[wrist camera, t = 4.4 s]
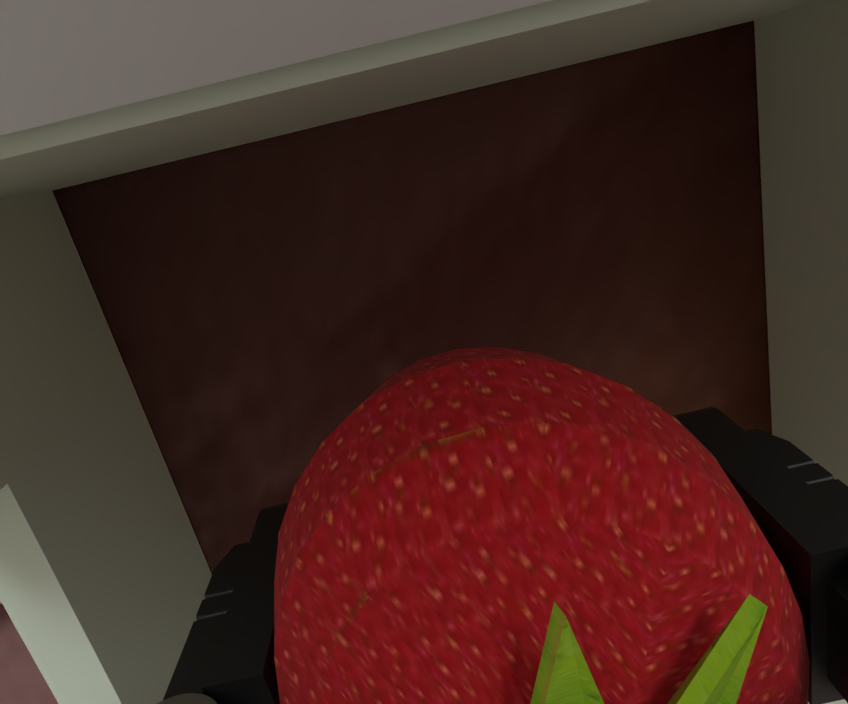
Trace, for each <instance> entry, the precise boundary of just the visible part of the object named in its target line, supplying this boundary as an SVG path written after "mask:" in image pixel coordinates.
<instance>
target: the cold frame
mask: <svg viewBox="0 0 848 704" xmlns="http://www.w3.org/2000/svg"><path fill="white" fill-rule="evenodd" d="M750 21H754V30H755V53H756V76H757V99H758V122H759V145H760V168H761V191H762V214H763V236H764V259H765V282H766V305H767V328H768V351H769V374H770V397H771V420H772V435H774V436H777V437H779V438H782V439H785V440H787V441H789V442H791V443H792V444H793V445H795V446H796V447H797V448H799V449H800V450H801V451H802V452H804V453H805V454H806V455H808V456H809V457H810V458H812V459H813V462H814V464H815V463H818V464H819V465H821V466H822V467H823V468H825V469H826V470H827V471H828V472H830V473H831V474H832V475H833V478H834V479H839V480H840V481H841V482H843V483H844V484H845V485H847V486H848V0H0V601H1V602H2V604H3V606H4V608H5V610H6V611H7V613H8V615H9V617H10V618H11V620H12V622H13V624H14V626H15V627H16V629H17V631H18V633H19V634H20V636H21V638H22V640H23V641H24V643H25V645H26V647H27V649H28V650H29V652H30V654H31V656H32V657H33V659H34V661H35V663H36V664H37V666H38V668H39V670H40V672H41V673H42V675H43V677H44V679H45V680H46V682H47V684H48V686H49V687H50V689H51V691H52V693H53V695H54V696H55V698H56V700H57V702H58V703H59V704H157V703H159V702H161V701H163V698H164V696H165V693H166V691H167V688H168V686H169V683H170V681H171V678H172V675H173V673H174V670H175V668H176V665H177V663H178V660H179V658H180V655H181V653H182V650H183V648H184V645H185V642H186V640H187V637H188V635H189V632H190V630H191V627H192V625H193V622H194V621H196V615H197V612H198V609H199V607H200V604H201V602H202V600H204V599H205V595H204V594H205V592H206V589H207V587H208V584H209V581H210V579H211V576H212V574H211V571H210V569H209V566H208V564H207V562H206V559H205V557H204V554H203V552H202V550H201V547H200V545H199V542H198V540H197V538H196V535H195V533H194V530H193V528H192V526H191V523H190V521H189V518H188V516H187V514H186V511H185V509H184V506H183V504H182V502H181V499H180V497H179V494H178V492H177V490H176V487H175V485H174V482H173V480H172V478H171V475H170V473H169V470H168V468H167V465H166V463H165V461H164V458H163V456H162V453H161V451H160V449H159V446H158V444H157V441H156V439H155V437H154V434H153V432H152V429H151V427H150V425H149V422H148V420H147V417H146V415H145V413H144V410H143V408H142V405H141V403H140V401H139V398H138V396H137V393H136V391H135V389H134V386H133V384H132V381H131V379H130V377H129V374H128V372H127V369H126V367H125V365H124V362H123V360H122V357H121V355H120V353H119V350H118V348H117V345H116V343H115V341H114V338H113V336H112V333H111V331H110V329H109V326H108V324H107V321H106V319H105V316H104V314H103V312H102V309H101V307H100V304H99V302H98V300H97V297H96V295H95V292H94V290H93V288H92V285H91V283H90V280H89V278H88V276H87V273H86V271H85V268H84V266H83V264H82V261H81V259H80V256H79V254H78V252H77V249H76V247H75V244H74V242H73V240H72V237H71V235H70V232H69V230H68V228H67V225H66V223H65V220H64V218H63V216H62V213H61V211H60V208H59V206H58V204H57V201H56V199H55V196H54V194H53V192H52V191H53V190H57V189H61V188H65V187H70V186H74V185H78V184H82V183H86V182H90V181H94V180H98V179H103V178H107V177H111V176H115V175H119V174H123V173H127V172H131V171H136V170H140V169H144V168H148V167H152V166H156V165H160V164H164V163H169V162H173V161H177V160H181V159H185V158H189V157H193V156H197V155H201V154H206V153H210V152H214V151H218V150H222V149H226V148H230V147H234V146H239V145H243V144H247V143H251V142H255V141H259V140H263V139H267V138H272V137H276V136H280V135H284V134H288V133H292V132H296V131H300V130H305V129H309V128H313V127H317V126H321V125H325V124H329V123H333V122H338V121H342V120H346V119H350V118H354V117H358V116H362V115H366V114H371V113H375V112H379V111H383V110H387V109H391V108H395V107H399V106H403V105H408V104H412V103H416V102H420V101H424V100H428V99H432V98H436V97H441V96H445V95H449V94H453V93H457V92H461V91H465V90H469V89H474V88H478V87H482V86H486V85H490V84H494V83H498V82H502V81H507V80H511V79H515V78H519V77H523V76H527V75H531V74H535V73H540V72H544V71H548V70H552V69H556V68H560V67H564V66H568V65H572V64H577V63H581V62H585V61H589V60H593V59H597V58H601V57H605V56H610V55H614V54H618V53H622V52H626V51H630V50H634V49H638V48H643V47H647V46H651V45H655V44H659V43H663V42H667V41H671V40H676V39H680V38H684V37H688V36H692V35H696V34H700V33H704V32H709V31H713V30H717V29H721V28H725V27H729V26H733V25H737V24H741V23H746V22H750ZM808 704H810V703H809V702H808ZM824 704H848V703H847V702H846V700H845V699H843V700H838V701H834V702H829V703H824Z"/></svg>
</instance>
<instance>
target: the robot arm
mask: <svg viewBox="0 0 848 704" xmlns="http://www.w3.org/2000/svg"><path fill="white" fill-rule="evenodd" d="M674 417H676V418H677V419H678V420H679V421H680V422H681V423H682V424H683V425H684V426H685V427H686V428H687V429H688V430H689V431H690V432H691V433H692V434H693V435H694V436H695V437H696V438H697V439H698V440H699V441H700V442H701V443H702V444H703V445H704V446H705V447H706V448H707V449H708V450H709V451H710V452H711V453H712V454H713V455H714V457H715V458H716V460H717V461H718V463H719V464H720V466H721V468H722V469H723V471H724V472H725V474H726V475H727V477H728V478H729V480H730V481H731V483H732V484H733V486H734V487H735V489H736V490H737V492H738V493H739V495H740V496H741V498H742V499H743V501H744V503H745V504H746V506H747V508H748V509H749V511H750V513H751V514H752V516H753V518H754V519H755V521H756V523H757V524H758V526H759V528H760V529H761V531H762V533H763V534H764V536H765V538H766V539H767V541H768V543H769V544H770V546H771V548H772V549H773V551H774V553H775V554H776V556H777V558H778V559H779V561H780V563H781V565H782V566H783V568H784V570H785V573H786V575H787V578H788V580H789V583H790V586H791V588H792V591H793V593H794V596H795V598H796V601H797V603H798V606H799V608H800V611H801V613H802V617H803V624H804V630H805V636H806V642H807V648H808V654H809V660H810V669H809V689H808V702H809V703H810V704H824V703H829V702H834V701H838V700H843V699H845V700H846V702H847V703H848V486H847V485H845V484H844V483H843V482H841V481H840V480H839V479H834V478H833V475H832V474H831V473H830V472H828V471H827V470H826V469H825V468H823V467H822V466H821V465H819V464H818V463H815V464H814V462H813V459H812V458H810V457H809V456H808V455H806V454H805V453H804V452H802V451H801V450H800V449H799V448H797V447H796V446H795V445H793V444H792V443H791V442H789V441H787V440H785V439H782V438H779V437H777V436H774V435H772V434H769V433H766V432H764V431H761V430H758V429H752V430H748V431H744V430H742V429H741V428H740V427H739V426H738V425H736V424H735V423H734V422H733V421H732V420H730V419H729V418H728V417H727V416H726V415H724V414H723V413H722V412H721V411H720V410H718V409H717V408H715V407H710V408H705V409H701V410H697V411H692V412H688V413H683V414H679V415H675V416H674ZM288 504H289V502H288V503H283V504H279V505H275V506H270V507H266V508H263V509H261V511H260V513H259V515H258V518H257V521H256V524H255V527H254V530H253V533H252V536H251V539H250V542H248V543H244V544H239V545H235V546H234V547H233V548H232V549H231V551H230V552H229V553H228V554H227V555H226V556H225V558H224V559H223V560H222V561H221V562H220V563H219V565H218V566H217V567H216V568H215V569H214V571H213V574H212V576H211V579H210V581H209V584H208V587H207V589H206V592H205V594H204V595H205V599H204V600H202V602H201V604H200V607H199V609H198V612H197V615H196V621H194V622H193V625H192V627H191V630H190V632H189V635H188V637H187V640H186V642H185V645H184V648H183V650H182V653H181V655H180V658H179V660H178V663H177V665H176V668H175V670H174V673H173V675H172V678H171V681H170V683H169V686H168V688H167V691H166V693H165V696H164V698H163V701H161V702H159V703H157V704H280V699H279V691H278V683H277V675H276V668H275V660H274V578H275V567H276V557H277V546H278V536H279V530H280V528H281V525H282V522H283V519H284V516H285V513H286V510H287V507H288Z"/></svg>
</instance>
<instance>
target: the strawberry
mask: <svg viewBox="0 0 848 704" xmlns="http://www.w3.org/2000/svg"><path fill="white" fill-rule="evenodd" d="M274 660H275V668H276V675H277V683H278V691H279V699H280V704H808V689H809V669H810V660H809V654H808V648H807V642H806V636H805V630H804V624H803V617H802V613H801V611H800V608H799V606H798V603H797V601H796V598H795V596H794V593H793V591H792V588H791V586H790V583H789V580H788V578H787V575H786V573H785V570H784V568H783V566H782V565H781V563H780V561H779V559H778V558H777V556H776V554H775V553H774V551H773V549H772V548H771V546H770V544H769V543H768V541H767V539H766V538H765V536H764V534H763V533H762V531H761V529H760V528H759V526H758V524H757V523H756V521H755V519H754V518H753V516H752V514H751V513H750V511H749V509H748V508H747V506H746V504H745V503H744V501H743V499H742V498H741V496H740V495H739V493H738V492H737V490H736V489H735V487H734V486H733V484H732V483H731V481H730V480H729V478H728V477H727V475H726V474H725V472H724V471H723V469H722V468H721V466H720V464H719V463H718V461H717V460H716V458H715V457H714V455H713V454H712V453H711V452H710V451H709V450H708V449H707V448H706V447H705V446H704V445H703V444H702V443H701V442H700V441H699V440H698V439H697V438H696V437H695V436H694V435H693V434H692V433H691V432H690V431H689V430H688V429H687V428H686V427H685V426H684V425H683V424H682V423H681V422H680V421H679V420H678V419H677V418H676V417H674V416H673V415H671V414H669V413H668V412H666V411H665V410H663V409H662V408H660V407H659V406H657V405H656V404H654V403H653V402H651V401H650V400H648V399H646V398H645V397H643V396H642V395H640V394H639V393H637V392H636V391H634V390H633V389H631V388H630V387H627V386H625V385H622V384H620V383H617V382H615V381H612V380H609V379H607V378H604V377H602V376H599V375H597V374H594V373H591V372H589V371H586V370H584V369H581V368H578V367H576V366H573V365H570V364H567V363H564V362H561V361H558V360H555V359H552V358H549V357H546V356H543V355H540V354H537V353H533V352H527V351H521V350H515V349H509V348H503V347H497V346H494V347H477V348H460V349H454V350H450V351H447V352H444V353H440V354H437V355H434V356H430V357H427V358H424V359H420V360H418V361H416V362H415V363H413V364H411V365H409V366H408V367H406V368H404V369H403V370H401V371H399V372H397V373H396V374H394V375H392V376H391V377H389V378H387V379H386V380H385V381H384V382H383V383H382V384H381V385H380V386H378V387H377V388H376V389H375V390H374V391H373V392H372V393H371V394H370V395H369V396H368V397H367V398H366V399H365V400H364V401H363V402H362V403H361V404H360V405H359V406H358V407H357V408H356V409H355V410H354V411H353V412H352V413H351V414H350V415H349V416H348V417H347V418H346V419H345V420H344V421H343V422H342V423H341V424H340V425H339V426H338V427H337V428H336V429H335V430H334V431H333V432H332V433H331V434H330V435H329V436H328V437H327V438H325V439H324V440H323V441H322V443H321V445H320V446H319V448H318V449H317V451H316V452H315V454H314V456H313V457H312V459H311V460H310V462H309V463H308V465H307V467H306V468H305V470H304V471H303V473H302V475H301V476H300V478H299V479H298V481H297V482H296V484H295V486H294V489H293V492H292V495H291V498H290V501H289V504H288V507H287V510H286V513H285V516H284V519H283V522H282V525H281V528H280V530H279V536H278V546H277V557H276V567H275V578H274Z"/></svg>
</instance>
